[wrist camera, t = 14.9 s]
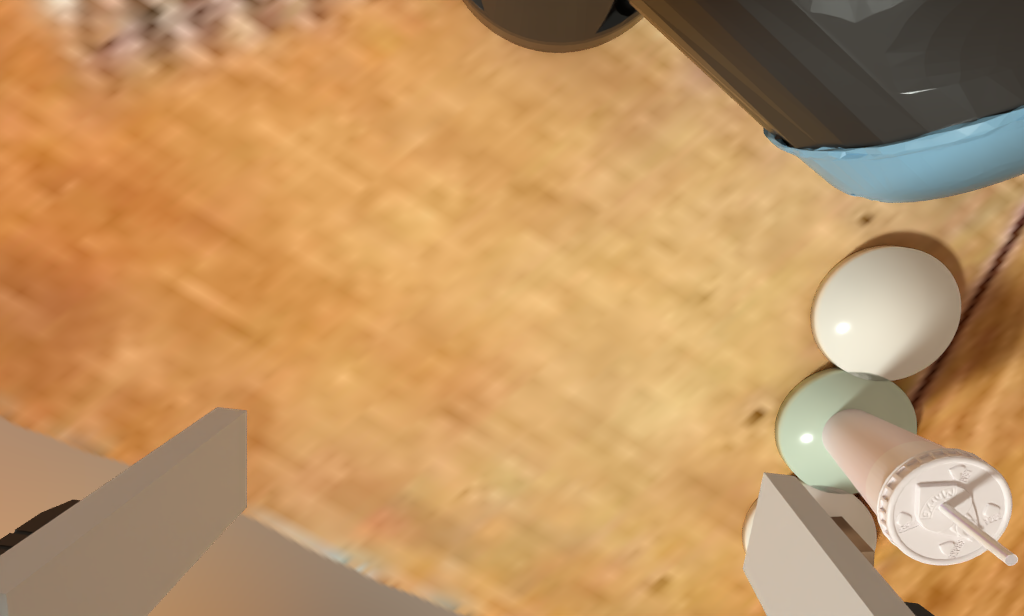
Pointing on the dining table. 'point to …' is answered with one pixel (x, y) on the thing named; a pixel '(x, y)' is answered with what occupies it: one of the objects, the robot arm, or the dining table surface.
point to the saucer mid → (817, 405)
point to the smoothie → (922, 489)
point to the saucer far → (830, 513)
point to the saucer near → (886, 312)
